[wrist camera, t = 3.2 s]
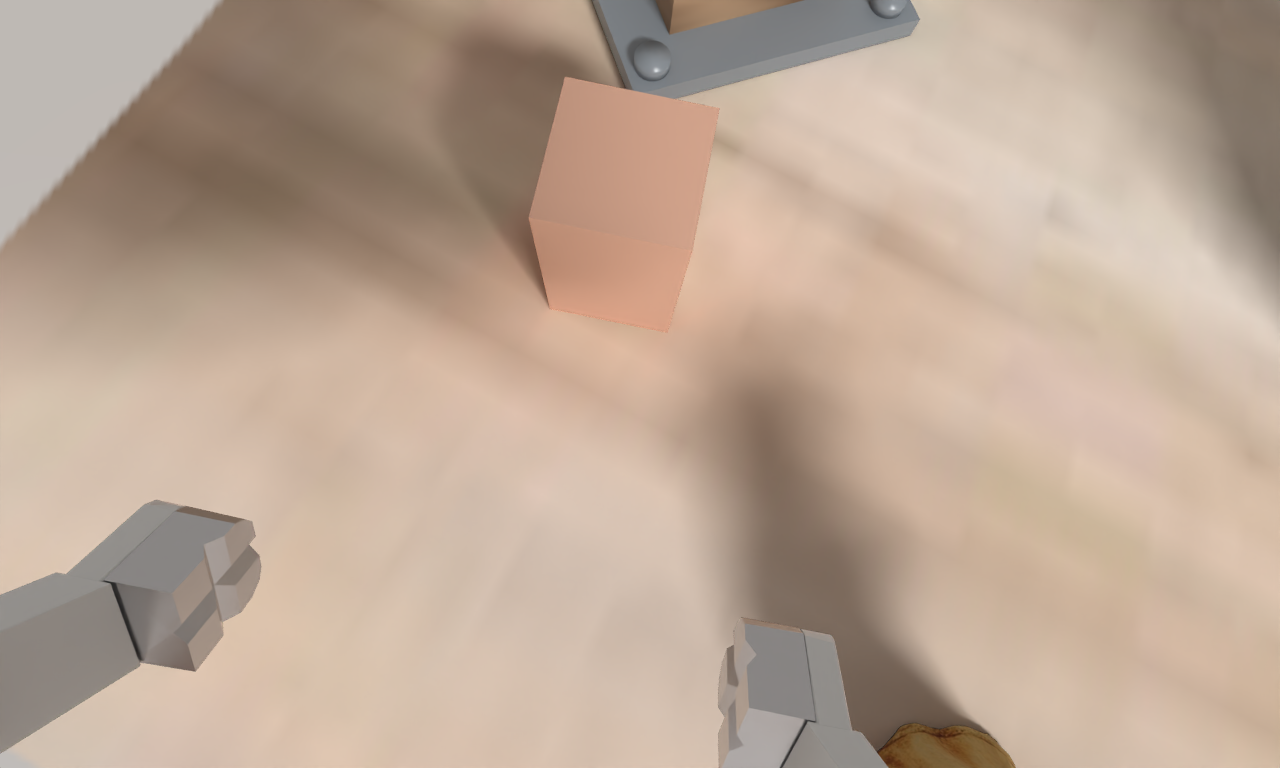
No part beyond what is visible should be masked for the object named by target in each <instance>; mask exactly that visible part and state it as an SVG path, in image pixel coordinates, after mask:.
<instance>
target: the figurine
mask: <svg viewBox="0 0 1280 768" xmlns="http://www.w3.org/2000/svg"><path fill="white" fill-rule="evenodd" d="M877 753H878V755H879V756H880V757H881V759H882V760H883V761H884V763H885V764H886V765H887V767H888V768H1016V767H1015V764H1014V763H1013V761H1012V759H1011V757H1010V756H1009V755H1008V754H1007V753H1006V751H1004V750H1003V749H1002V748H1001V747H1000V746H999V745H998V743H997V741H996V740H995V739H993V738H992V737H990V736H989V735H988V734H986V733H982V732H979V731H977V730H974V729H972V728H969V727H967V726H950V727H946V728H943V729H936V728H930V727H927V726H924V725H921V724H918V723H912V724H907V725H904V726H901V727H900V728H899V729H898V730H897V731H896V733H895V734H894V735H893V736H892V737H891V739H890V740H889V741H888V742H887V743H886V745H885V746H884V747H882V748H881V749H880V750H879V751H878V752H877Z"/></svg>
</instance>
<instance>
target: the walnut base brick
mask: <svg viewBox="0 0 1280 768" xmlns="http://www.w3.org/2000/svg"><path fill="white" fill-rule="evenodd" d="M655 1H656V3H657V5H658V8H659V10H660V13H661V15H662V18H663V20H664V23H665V25H666V27H667V30H668V32H669V35H671V34H674V33H678V32H682V31H686V30H690V29H694V28H698V27H702V26H706V25H710V24H714V23H717V22H721V21H725V20H729V19H733V18H737V17H741V16H745V15H749V14H753V13H757V12H760V11H764V10H768V9H772V8H776V7H780V6H784V5H788V4H792V3H796V2H800V1H803V0H655Z"/></svg>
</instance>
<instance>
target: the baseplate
mask: <svg viewBox="0 0 1280 768" xmlns="http://www.w3.org/2000/svg"><path fill="white" fill-rule="evenodd" d="M592 2H593V4H594V7H595V10H596V12H597V15H598V17H599V20H600V23H601V25H602V28H603V30H604V33H605V36H606V38H607V41H608V43H609V46H610V49H611V51H612V54H613V56H614V59H615V62H616V64H617V67H618V69H619V72H620V75H621V77H622V80H623V82H624V85H625V88H626V89H628V90H633V91H638V92H643V93H647V94H652V95H657V96H662V97H667V98H672V99H675V98H679V97H683V96H687V95H690V94H694V93H698V92H702V91H705V90H709V89H713V88H716V87H720V86H724V85H728V84H731V83H735V82H739V81H742V80H746V79H750V78H754V77H757V76H761V75H765V74H768V73H772V72H776V71H780V70H783V69H787V68H791V67H795V66H798V65H802V64H806V63H809V62H813V61H817V60H821V59H824V58H828V57H832V56H835V55H839V54H843V53H847V52H850V51H854V50H858V49H861V48H865V47H869V46H873V45H876V44H880V43H884V42H887V41H891V40H895V39H899V38H902V37H906V36H910V35H911V33H912V32H913V30H914V28H915V27H916V25H917V23H918V22H919V20H920V19H919V17H918V15H917V13H916V11H915V9H914V7H913V5H912V3H911V1H910V0H803V1H800V2H796V3H792V4H788V5H784V6H780V7H776V8H772V9H768V10H764V11H760V12H757V13H753V14H749V15H745V16H741V17H737V18H733V19H729V20H725V21H721V22H717V23H714V24H710V25H706V26H702V27H698V28H694V29H690V30H686V31H682V32H678V33H674V34H671V35H669V32H668V30H667V27H666V25H665V23H664V20H663V18H662V15H661V13H660V10H659V8H658V5H657V3H656V1H655V0H592Z"/></svg>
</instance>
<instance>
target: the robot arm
mask: <svg viewBox="0 0 1280 768" xmlns="http://www.w3.org/2000/svg"><path fill="white" fill-rule="evenodd" d="M255 537H256V535H255V531H254V527H253V523H252V521H249V520H245V519H241V518H237V517H232V516H228V515H224V514H219V513H215V512H210V511H206V510H202V509H197V508H193V507H188V506H183V505H178V504H174V503H169V502H164V501H160V500H154V501H152V502H149V503H147V504H144V505H143V506H142V507H141V508H140V509H138V510H137V511H136V512H135V513H134V514H133V515H132V516H131V517H129V518H128V519H127V520H126V521H125V522H124V523H123V524H122V525H121V526H119V527H118V528H117V529H116V530H115V531H114V532H113V533H112V534H110V535H109V536H108V537H107V538H106V539H105V540H104V541H103V542H102V543H100V544H99V545H98V546H97V547H96V548H95V549H94V550H93V551H91V552H90V553H89V554H88V555H87V556H86V557H85V558H84V559H82V560H81V561H80V562H79V563H78V564H77V565H76V566H75V567H74V568H72V569H71V570H70V571H69V572H68V573H67V574H62V573H54V574H51V575H49V576H46V577H44V578H41V579H39V580H37V581H34V582H32V583H29V584H27V585H24V586H22V587H19V588H17V589H14V590H12V591H9V592H7V593H4V594H2V595H0V753H2V752H4V751H5V750H7V749H8V748H10V747H12V746H13V745H15V744H16V743H18V742H20V741H21V740H23V739H24V738H26V737H28V736H29V735H31V734H32V733H34V732H35V731H37V730H39V729H40V728H42V727H43V726H45V725H47V724H48V723H50V722H51V721H53V720H55V719H56V718H58V717H59V716H61V715H63V714H64V713H66V712H67V711H69V710H71V709H72V708H74V707H75V706H77V705H79V704H80V703H82V702H83V701H85V700H86V699H88V698H90V697H91V696H93V695H94V694H96V693H98V692H99V691H101V690H102V689H104V688H106V687H107V686H109V685H110V684H112V683H114V682H115V681H117V680H118V679H120V678H122V677H123V676H125V675H126V674H128V673H130V672H131V671H133V670H134V669H136V668H137V667H139V666H140V662H141V663H147V664H153V665H159V666H165V667H171V668H177V669H183V670H189V671H195V672H196V670H197V669H198V668H199V667H200V665H201V664H202V663H203V661H204V660H205V659H206V657H207V656H208V655H209V654H210V652H211V651H212V650H213V648H214V647H215V646H216V644H217V643H218V642H219V641H220V639H221V638H222V637H223V621H225V620H227V619H229V618H231V617H233V616H235V615H237V614H239V613H241V612H242V610H243V609H244V608H245V606H246V605H247V603H248V602H249V601H250V599H251V598H252V596H253V594H254V592H255V589H256V587H257V584H258V582H259V580H260V572H261V562H260V556H259V555H258V553H257V552H256V551H255V550H254V549H253V548H252V547H251V546H250V545H249V544H250V543H251V541H252V540H253V539H254V538H255ZM718 707H719V709H720V711H721V712H722V714H723V715H724V717H725V718H724V720H723V723H722V725H721V728H720V730H719V733H718V752H719V768H888V767H887V765H886V764H885V763H884V761H883V760H882V759H881V757H880V756H879V755H878V753H877V752H876V751H875V749H874V748H873V747H872V746H871V744H870V743H869V742H868V740H867V739H866V738H865V736H864V735H863V734H862V732H858V731H854V730H852V727H851V722H850V716H849V711H848V706H847V701H846V696H845V691H844V685H843V680H842V675H841V670H840V665H839V660H838V654H837V649H836V644H835V640H834V639H833V637H832V636H831V635H829V634H824V633H819V632H814V631H809V630H804V629H799V628H797V627H791V626H786V625H780V624H775V623H770V622H764V621H759V620H754V619H748V618H743V617H741V618H740V619H739V620H738V622H737V624H736V627H735V629H734V645H732V646H731V647H729V648H727V650H726V653H725V656H724V658H723V661H722V666H721V671H720V676H719V687H718Z"/></svg>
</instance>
